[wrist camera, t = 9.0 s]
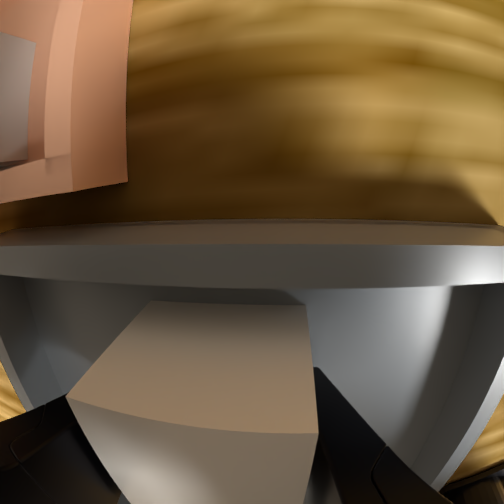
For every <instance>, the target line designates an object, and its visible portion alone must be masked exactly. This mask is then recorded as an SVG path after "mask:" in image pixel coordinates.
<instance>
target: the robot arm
mask: <svg viewBox="0 0 504 504" xmlns="http://www.w3.org/2000/svg"><path fill="white" fill-rule="evenodd" d="M313 373H314V384H315V395H316V406H317V419H318V432H319V433H318V439H317V444H316V449H315V454H314V458H313V463H312V468H311V472H310V477H309V481H308V485H307V489H306V493H305V495H306V504H504V464H502V465H500V466H498V467H495V468H493V469H491V470H488V471H486V472H483V473H481V474H478V475H476V476H473V477H470V478H467V479H465V480H462V481H459V482H456V483H453V484H450V485H447V486H444V487H442V488H441V489H440V491H439V492H438V491H436V490H435V489H434V488H432V487H431V486H430V485H429V484H427V483H426V482H425V481H424V480H423V479H422V478H420V477H419V476H418V475H417V474H416V473H415V472H413V471H412V470H411V469H410V468H409V467H408V466H407V465H406V464H405V463H404V462H403V461H402V460H401V459H400V458H399V457H398V456H397V455H396V454H395V453H394V451H393V450H392V449H391V448H390V447H389V446H386V443H385V442H384V441H383V439H382V438H381V437H380V436H379V435H378V434H377V433H376V432H375V431H374V429H373V428H372V427H371V426H370V425H369V424H368V423H367V422H366V421H365V419H364V418H363V417H362V416H361V415H360V414H359V413H358V412H357V410H356V409H355V408H354V407H353V406H352V405H351V404H350V402H349V401H348V400H347V399H346V398H345V397H344V396H343V394H342V393H341V392H340V391H339V390H338V389H337V388H336V386H335V385H334V384H333V383H332V382H331V381H330V380H329V378H328V377H327V376H326V375H325V374H324V373H323V372H322V370H321V369H320V368H319V367H313ZM68 393H69V392H68ZM68 393H66V394H64V395H62V396H60V397H58V398H56V399H54V400H52V401H50V402H47V403H46V404H45V405H44V404H43V405H41V406H39V407H37V408H35V409H32V410H30V411H28V412H25V413H23V414H21V415H18V416H16V417H13V418H10V419H7V420H5V421H2V422H0V504H117V503H118V500H119V498H120V496H121V493H122V491H121V490H120V489H119V487H118V486H117V484H116V483H115V482H114V480H113V479H112V477H111V476H110V474H109V473H108V471H107V470H106V468H105V467H104V465H103V464H102V462H101V461H100V459H99V457H98V456H97V454H96V453H95V451H94V449H93V448H92V446H91V444H90V443H89V441H88V439H87V437H86V436H85V434H84V432H83V430H82V428H81V427H80V425H79V423H78V421H77V419H76V417H75V415H74V413H73V411H72V409H71V407H70V405H69V403H68V401H67V399H66V397H65V396H66V395H67V394H68Z"/></svg>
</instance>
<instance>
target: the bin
mask: <svg viewBox="0 0 504 504" xmlns="http://www.w3.org/2000/svg"><path fill="white" fill-rule="evenodd" d="M151 300H152V301H169V302H188V303H211V304H243V305H306V310H307V318H308V326H309V335H310V344H311V354H312V363H313V367H319V368H320V369H321V370H322V372H323V373H324V374H325V375H326V376H327V377H328V378H329V380H330V381H331V382H332V383H333V384H334V385H335V386H336V388H337V389H338V390H339V391H340V392H341V393H342V394H343V396H344V397H345V398H346V399H347V400H348V401H349V402H350V404H351V405H352V406H353V407H354V408H355V409H356V410H357V412H358V413H359V414H360V415H361V416H362V417H363V418H364V419H365V421H366V422H367V423H368V424H369V425H370V426H371V427H372V428H373V429H374V431H375V432H376V433H377V434H378V435H379V436H380V437H381V438H382V439H383V441H384V442H385V443H386V446H389V447H390V448H391V449H392V450H393V451H394V453H395V454H396V455H397V456H398V457H399V458H400V459H401V460H402V461H403V462H404V463H405V464H406V465H407V466H408V467H409V468H410V469H411V470H412V471H413V472H415V473H416V474H417V475H418V476H419V477H420V478H422V479H423V480H424V481H425V482H426V483H427V484H429V485H430V486H431V487H432V488H434V489H435V490H436V491H438V492H439V491H440V489H441V488H442V487H443V486H444V485H445V483H446V482H447V481H448V480H449V478H450V477H451V476H452V474H453V473H454V472H455V471H456V469H457V468H458V467H459V465H460V464H461V462H462V461H463V460H464V458H465V457H466V455H467V454H468V453H469V451H470V450H471V448H472V447H473V445H474V444H475V442H476V441H477V439H478V437H479V436H480V434H481V433H482V431H483V429H484V428H485V426H486V424H487V423H488V421H489V419H490V418H491V416H492V414H493V412H494V410H495V409H496V407H497V405H498V403H499V401H500V399H501V397H502V395H503V393H504V227H503V226H500V225H487V224H470V223H450V222H428V221H399V220H360V219H213V220H173V221H144V222H120V223H99V224H81V225H64V226H49V227H34V228H21V229H12V230H9V231H6V232H3V233H1V234H0V360H1V363H2V365H3V367H4V369H5V371H6V373H7V376H8V378H9V380H10V382H11V384H12V386H13V388H14V390H15V392H16V394H17V395H18V397H19V399H20V401H21V403H22V405H23V406H24V408H25V410H26V412H28V411H30V410H32V409H35V408H37V407H39V406H41V405H43V404H44V405H45V404H46V403H47V402H50V401H52V400H54V399H56V398H58V397H60V396H62V395H64V394H66V393H68V392H70V390H71V389H72V388H73V387H74V386H75V385H76V383H77V382H78V381H79V380H80V379H81V378H82V376H83V375H84V374H85V373H86V372H87V371H88V370H89V368H90V367H91V366H92V365H93V364H94V363H95V362H96V360H97V359H98V358H99V357H100V356H101V355H102V354H103V352H104V351H105V350H106V349H107V348H108V347H109V346H110V345H111V343H112V342H113V341H114V340H115V339H116V338H117V337H118V336H119V335H120V333H121V332H122V331H123V330H124V329H125V328H126V327H127V326H128V325H129V324H130V322H131V321H132V320H133V319H134V318H135V317H136V316H137V315H138V314H139V313H140V312H141V311H142V309H143V308H144V307H145V306H146V305H147V304H148V303H149V302H150V301H151ZM117 504H131V503H130V502H129V501H128V499H127V498H126V497H125V495H124V494H123V493H121V496H120V498H119V500H118V503H117ZM303 504H306V495H305V497H304V501H303Z"/></svg>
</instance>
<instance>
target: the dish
mask: <svg viewBox="0 0 504 504" xmlns="http://www.w3.org/2000/svg"><path fill="white" fill-rule="evenodd" d="M132 6H133V0H0V32H2V33H6V34H9V35H13V36H16V37H19V38H23V39H26V40H29V41H32V42H35V43H36V47H35V53H34V60H33V67H32V75H31V84H30V95H29V109H28V159H27V160H24V161H20V162H17V163H14V164H10V165H7V166H4V167H1V168H0V204H1V203H6V202H11V201H17V200H22V199H28V198H34V197H40V196H46V195H53V194H59V193H66V192H73V191H78V190H83V189H89V188H94V187H99V186H105V185H111V184H117V183H123V182H128V174H127V153H126V79H127V59H128V44H129V33H130V23H131V14H132Z"/></svg>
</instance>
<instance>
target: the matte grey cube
mask: <svg viewBox="0 0 504 504" xmlns="http://www.w3.org/2000/svg"><path fill="white" fill-rule="evenodd" d="M35 47H36V43H35V42H32V41H29V40H26V39H23V38H19V37H16V36H13V35H9V34H6V33H2V32H0V168H1V167H4V166H7V165H10V164H14V163H17V162H20V161H24V160H27V159H28V109H29V95H30V84H31V75H32V67H33V60H34V53H35Z"/></svg>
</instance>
